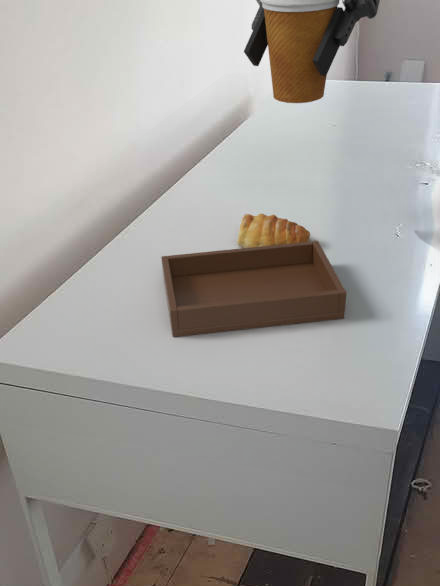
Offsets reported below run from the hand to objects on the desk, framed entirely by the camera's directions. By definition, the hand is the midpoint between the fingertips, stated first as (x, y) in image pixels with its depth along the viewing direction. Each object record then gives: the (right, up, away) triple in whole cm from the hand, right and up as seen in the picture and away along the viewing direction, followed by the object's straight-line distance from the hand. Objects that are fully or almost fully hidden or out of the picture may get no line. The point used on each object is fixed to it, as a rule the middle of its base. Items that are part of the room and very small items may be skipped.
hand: (284, 63), depth 86 cm
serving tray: (-4, -28, 0) cm, 29 cm away
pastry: (-1, -19, +10) cm, 21 cm away
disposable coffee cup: (+2, -2, +5) cm, 5 cm away
